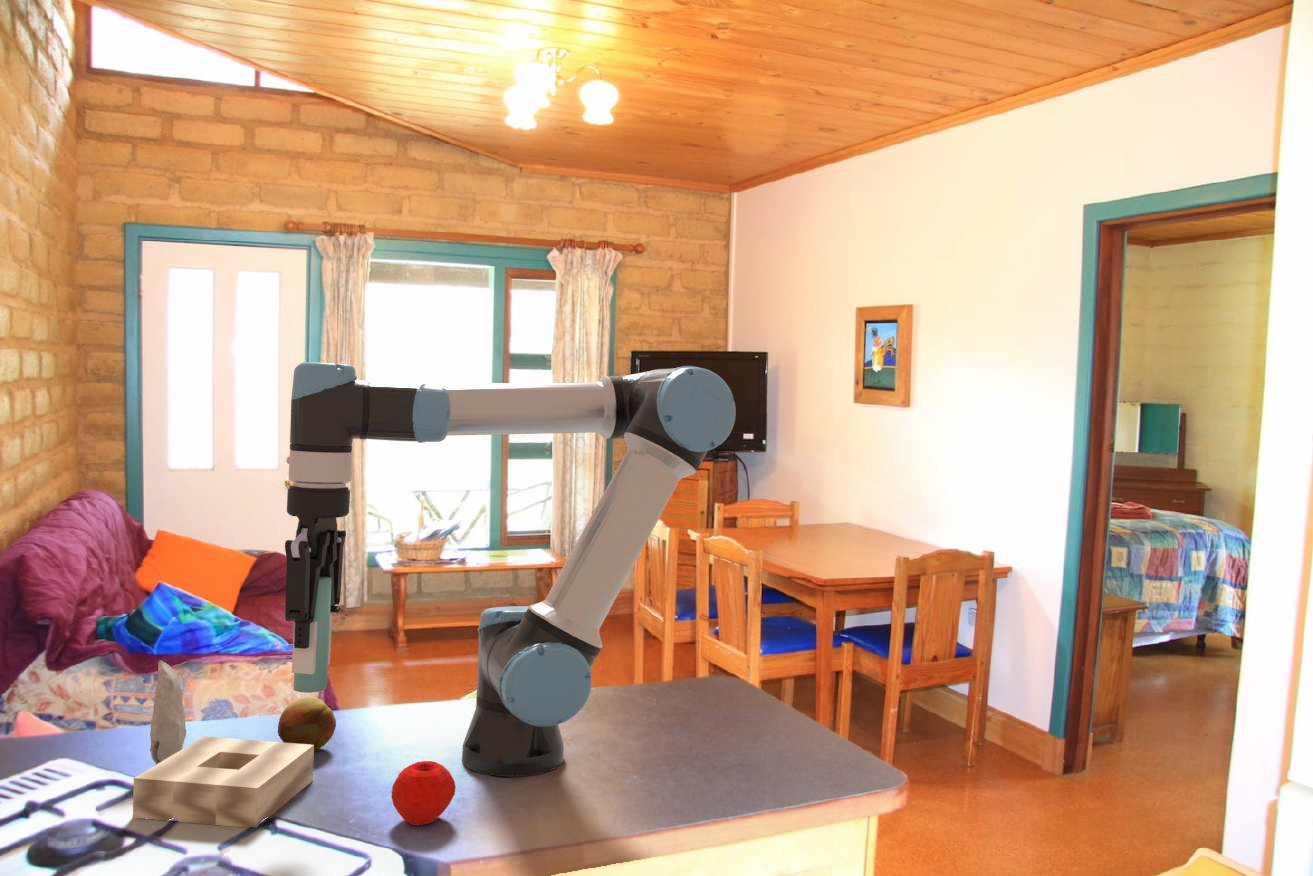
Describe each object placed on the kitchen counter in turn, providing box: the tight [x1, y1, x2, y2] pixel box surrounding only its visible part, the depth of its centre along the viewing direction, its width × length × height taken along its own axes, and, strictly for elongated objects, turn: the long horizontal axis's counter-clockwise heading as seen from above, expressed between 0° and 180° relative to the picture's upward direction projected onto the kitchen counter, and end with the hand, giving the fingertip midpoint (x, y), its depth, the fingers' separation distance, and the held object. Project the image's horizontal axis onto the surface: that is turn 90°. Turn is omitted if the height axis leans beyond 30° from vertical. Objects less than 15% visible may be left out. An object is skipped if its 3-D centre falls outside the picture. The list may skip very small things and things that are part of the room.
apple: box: [391, 760, 457, 826], centre depth 126 cm, size 8×8×7 cm
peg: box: [293, 576, 332, 694], centre depth 126 cm, size 4×4×14 cm
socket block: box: [132, 736, 315, 829], centre depth 130 cm, size 16×16×5 cm
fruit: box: [277, 696, 337, 752], centre depth 149 cm, size 8×8×8 cm
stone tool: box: [149, 660, 187, 765], centre depth 140 cm, size 9×3×15 cm, turn 8°
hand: (311, 667), depth 126 cm, fingers closed on peg, 4 cm apart
